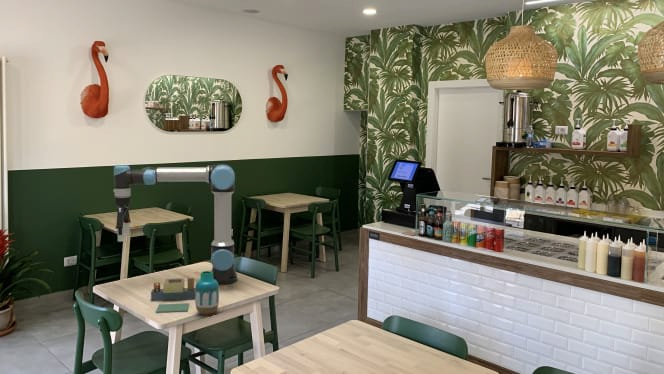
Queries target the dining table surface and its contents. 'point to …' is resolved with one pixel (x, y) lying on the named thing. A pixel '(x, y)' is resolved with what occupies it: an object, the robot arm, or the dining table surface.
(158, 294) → the knobbed metal bar
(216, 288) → the vase
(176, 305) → the felt pad
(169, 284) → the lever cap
